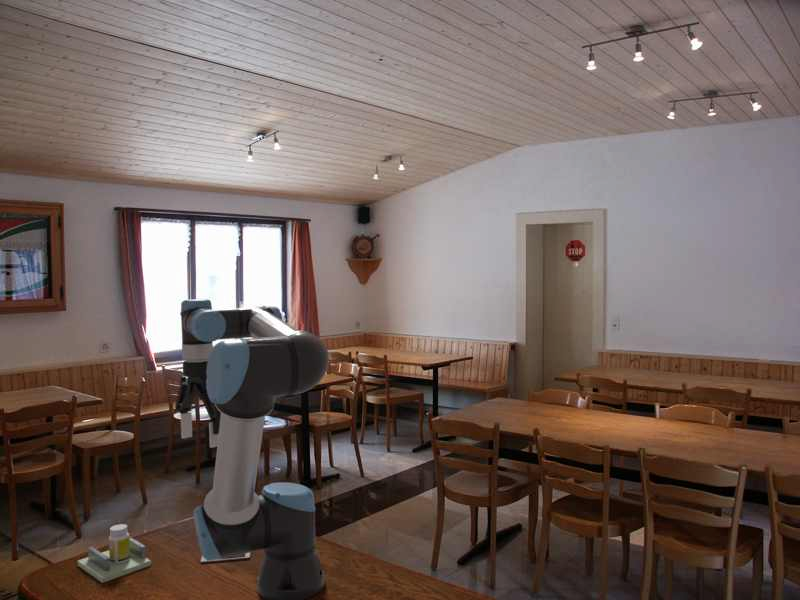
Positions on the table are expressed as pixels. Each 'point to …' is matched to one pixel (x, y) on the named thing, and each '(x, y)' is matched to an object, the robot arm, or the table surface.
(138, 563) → the board
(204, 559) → the white raised rim
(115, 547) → the supplement bottle
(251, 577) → the table surface
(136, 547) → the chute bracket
